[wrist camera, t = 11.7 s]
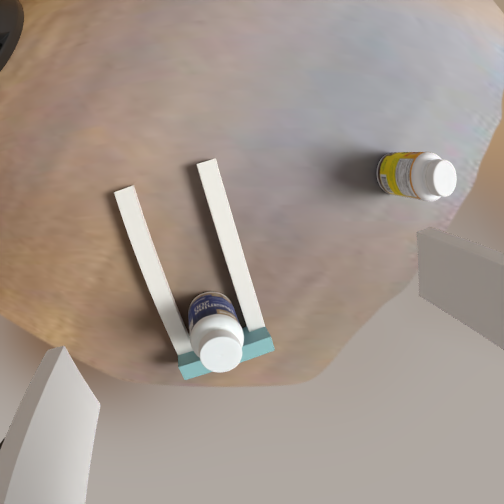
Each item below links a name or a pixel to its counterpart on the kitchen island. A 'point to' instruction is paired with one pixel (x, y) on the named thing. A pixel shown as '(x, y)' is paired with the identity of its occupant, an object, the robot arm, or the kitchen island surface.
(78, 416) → the robot arm
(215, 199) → the guide track
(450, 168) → the supplement bottle
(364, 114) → the kitchen island surface
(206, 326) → the pill bottle
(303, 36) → the kitchen island surface
